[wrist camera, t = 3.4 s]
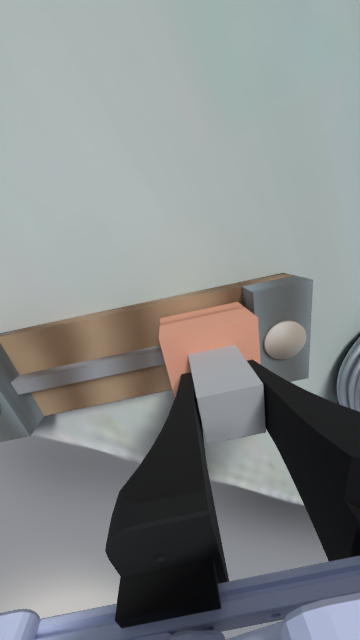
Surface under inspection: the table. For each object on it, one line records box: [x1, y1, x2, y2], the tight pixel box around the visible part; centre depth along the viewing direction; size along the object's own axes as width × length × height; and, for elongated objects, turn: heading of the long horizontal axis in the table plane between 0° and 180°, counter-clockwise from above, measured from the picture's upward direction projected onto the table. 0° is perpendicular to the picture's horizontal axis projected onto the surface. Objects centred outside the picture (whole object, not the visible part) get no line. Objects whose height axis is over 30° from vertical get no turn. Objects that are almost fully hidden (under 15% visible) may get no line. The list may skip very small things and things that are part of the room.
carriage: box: [159, 302, 266, 444], centre depth 12 cm, size 6×6×7 cm
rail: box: [0, 273, 313, 442], centre depth 16 cm, size 27×8×4 cm, turn 101°
